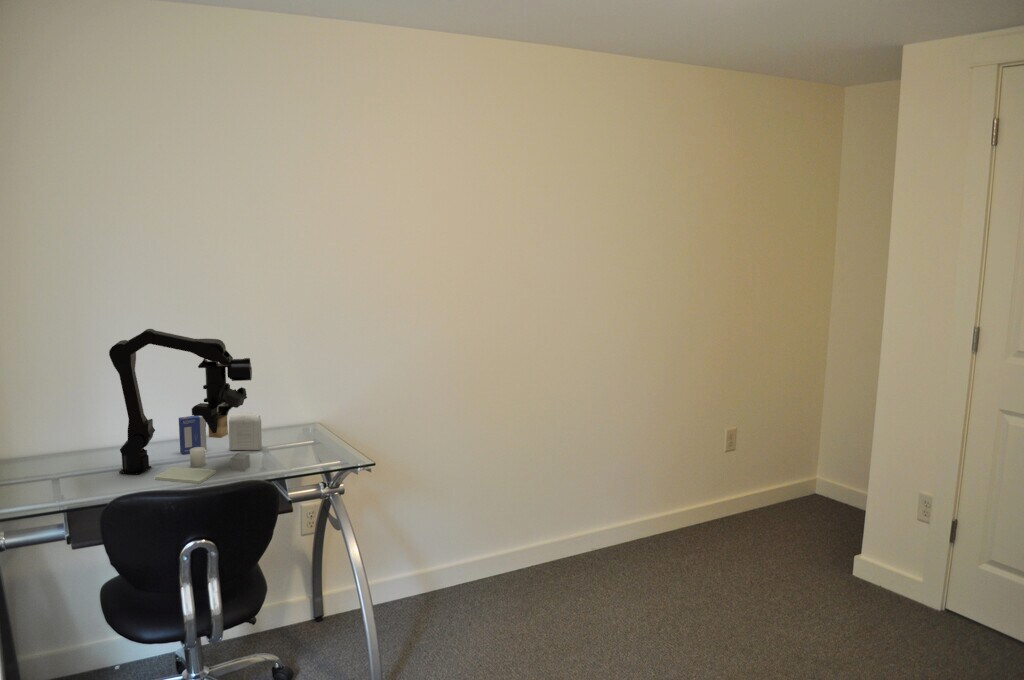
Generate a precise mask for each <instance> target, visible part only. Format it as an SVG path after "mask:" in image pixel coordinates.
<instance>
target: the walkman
mask: <svg viewBox="0 0 1024 680" xmlns="http://www.w3.org/2000/svg"><path fill="white" fill-rule="evenodd" d="M178 431H179V452H180V454H181V455H187V453H188V454H190V449H191V448H195V447H204V448H205V450H207V449H208V448H207V445H208V444H207V423H206V421H205V420H204V418H203V417H202V416H194V415H189V416H182V417H181V416H180V417H178ZM207 451H208V450H207Z"/></svg>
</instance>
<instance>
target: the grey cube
mask: <svg viewBox="0 0 1024 680" xmlns="http://www.w3.org/2000/svg"><path fill="white" fill-rule="evenodd" d="M250 457H251V456H250V453H249V454H248V453H236V454H234V455H232V456H231V457H230V465H231V466H230V469H231V471H240V472H244V471H245V470H248V468H250V467H251V461H250Z"/></svg>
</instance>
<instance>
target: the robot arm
mask: <svg viewBox="0 0 1024 680" xmlns="http://www.w3.org/2000/svg"><path fill="white" fill-rule="evenodd" d="M148 345H154V346H160V347H163V348H168V349H173V350H178V351H184V352H188V353H190V354H191V353H192V354H194V355H195V356H198V357H200V358H202V361H201V362H200V363H199V365H198V366H197V368H198V369H204V370H205V384H204V385H202V387H203V390H206V392H205V393H206V397H204V399H203V403H202V402H199V403H198V404H196V405H194V406H192V408H191V416H202V417H203V418H204V420H205V421H206V425H208V426H209V428H210V429H211V431H212V433H216V432H217V421H218V416H219V415H227V416H228V414H229V411H231V410H232V409H233V408H235V409H237V408H239V407H240V406H243V405H244V401H245V400H247V398H248V396H247V389H246V388H245V387H243V386H242V387H240V388H238V389H236V388H234V389H233V388H231V384H230V383H228V382H227V378H228V379H230V380H231V381H232V382H238V381H239V382H241V381H243V382H245V381H252V379H253V377H252V376H253V367H252V363H251V358H250V357H246V358H234V357H233V356H232V355H231V353H229V352H228V351H227V349H226V344H225V342H224V341H223V340H221V339H217V338H194V337H188V336H183V335H179V334H174V333H170V332H169V333H168V332H165V331H160V330H155V329H153V328H146V329H145V330H144V331H142V332H141V333H139V334H137V335H135V336H133V337H132V338H130V339H128V340H127V339H122V340H119V341H118V342H116V343H115V344H114V345H113V346H111V347H110V348H109V352H108V356H109V358H110V361H111V363H112V365H113V367H114V369H115V370H116V371H117V373H118V376H119V379H120V385H121V390H122V394H123V398H124V403H125V409H126V412H127V416H128V423H127V424H128V425H127V440H126V441H125V442H124V443H123V445H122V446H121V447H120V449H119V451H120V454H121V463H122V465H121V466H122V469H120V470H119V474H126V475H127V474H128V475H141V474H142V473H144V472H145V471H148V470H150V469H151V468H152V465H150V461H149V455H148V450H147V449H145V448H146V447H147V446H148V445H149V443H150V442H151V441H152V439H153V437H154V433H155V431H156V429H155V427H154V420H153V418H149V419H148V418H147V417H146V415H145V412H144V407H143V403H142V397H141V391H140V388H139V384H138V379H137V373H136V362H137V352H138V351H140V350H141V349H143V348H144V347H147V346H148ZM226 368H227V370H226ZM226 371H227V372H226ZM209 428H208V429H209Z"/></svg>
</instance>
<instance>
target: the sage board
mask: <svg viewBox="0 0 1024 680" xmlns="http://www.w3.org/2000/svg"><path fill="white" fill-rule="evenodd" d="M215 474H217V470H216V469H205V468H204V469H203V468H195V467H180V466H172V467H170V468H168V469H167V470H165V471H163V472H161V473H159V474H158V475H157V476H155V477H154V480H156V481H166V482H176V483H177V482H178V483H187V484H189V483H191V484H202V483H203V482H204V481H206V480H208V479H209V478H210V477H212V476H214V475H215Z"/></svg>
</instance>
